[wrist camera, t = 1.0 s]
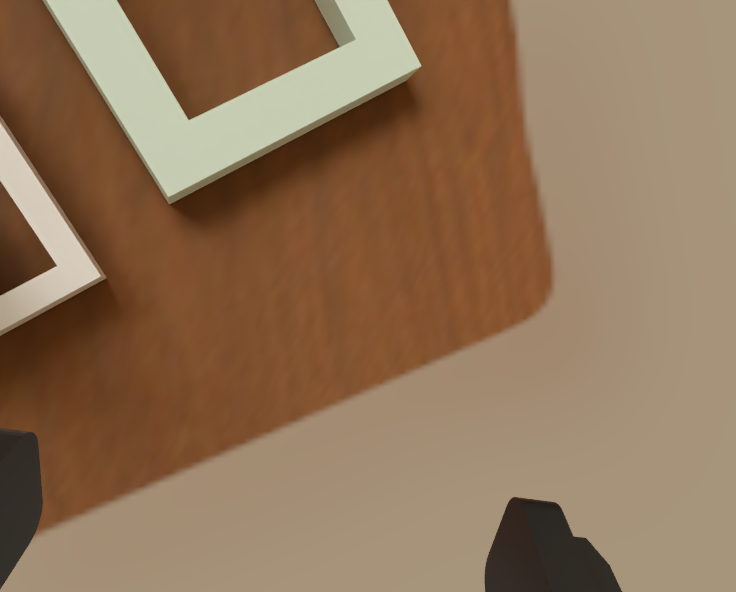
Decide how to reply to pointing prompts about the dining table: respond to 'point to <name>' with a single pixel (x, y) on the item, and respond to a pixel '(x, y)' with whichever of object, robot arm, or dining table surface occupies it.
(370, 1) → the light green square frame
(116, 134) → the dining table surface
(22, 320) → the white square frame
